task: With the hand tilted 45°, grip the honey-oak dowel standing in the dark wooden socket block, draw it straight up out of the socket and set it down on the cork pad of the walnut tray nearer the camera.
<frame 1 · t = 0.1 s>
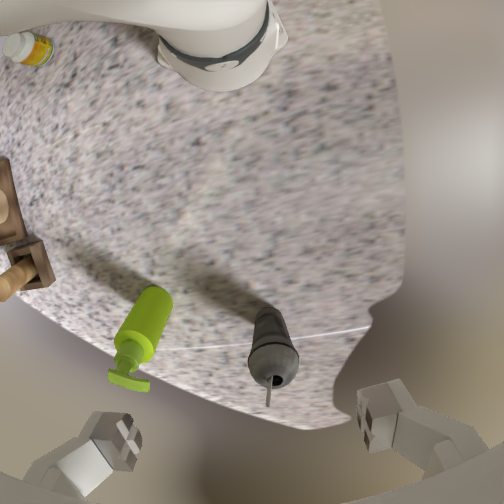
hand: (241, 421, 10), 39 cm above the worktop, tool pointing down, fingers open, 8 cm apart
dowel: (17, 276, 44), in the socket
tray: (0, 204, 45), on the worktop
socket: (34, 263, 50), on the worktop
soap dispenser: (159, 301, 52), on the worktop
supplement bottle: (44, 53, 36), on the worktop
beverage cup: (269, 318, 53), on the worktop
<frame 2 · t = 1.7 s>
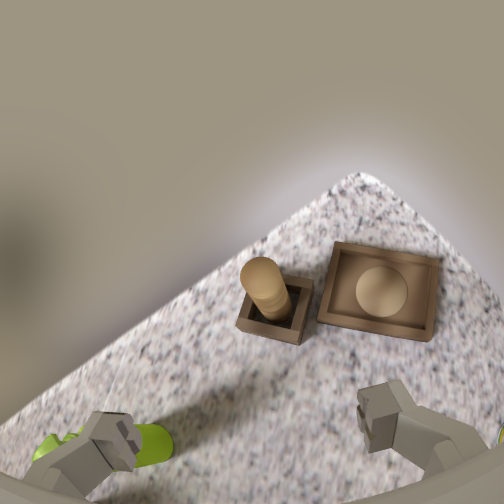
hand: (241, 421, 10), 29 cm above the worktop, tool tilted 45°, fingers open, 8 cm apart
dowel: (270, 295, 37), in the socket
tray: (380, 293, 39), on the worktop
socket: (278, 310, 42), on the worktop
soap dispenser: (153, 445, 36), on the worktop
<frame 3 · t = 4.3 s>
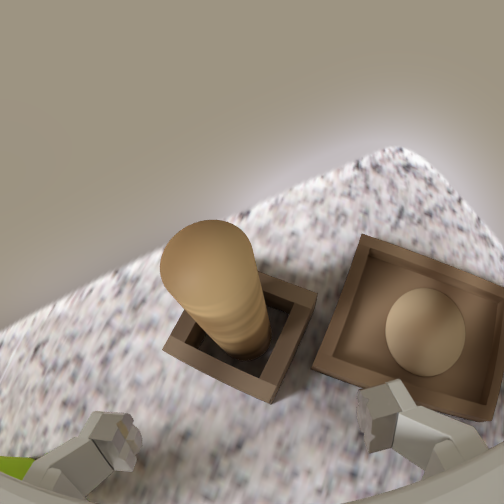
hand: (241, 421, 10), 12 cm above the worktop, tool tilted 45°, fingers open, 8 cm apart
dowel: (231, 308, 18), in the socket
tray: (423, 334, 21), on the worktop
socket: (245, 335, 23), on the worktop
soap dispenser: (33, 486, 17), on the worktop
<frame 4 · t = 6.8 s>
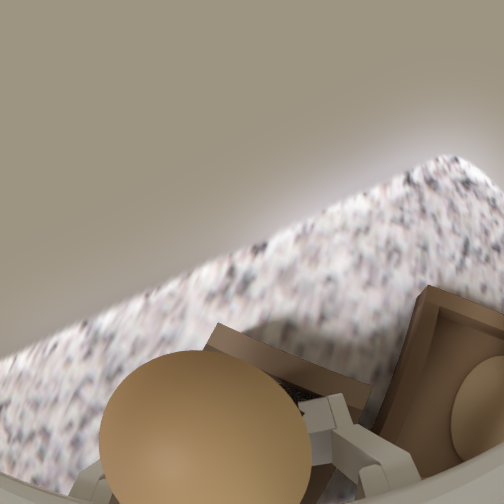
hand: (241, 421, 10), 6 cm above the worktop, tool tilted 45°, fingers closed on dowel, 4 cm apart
dowel: (245, 436, 10), in the socket, touching gripper
tray: (490, 413, 13), on the worktop
socket: (261, 429, 15), on the worktop
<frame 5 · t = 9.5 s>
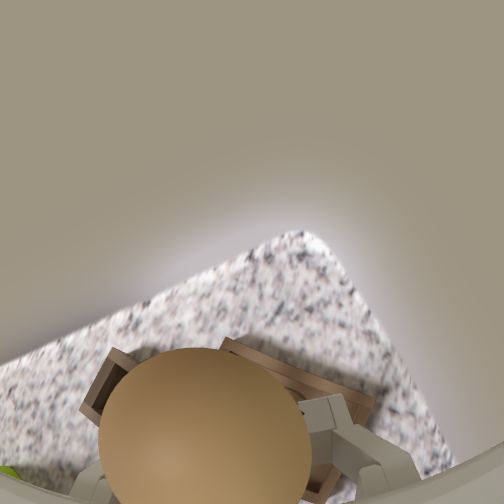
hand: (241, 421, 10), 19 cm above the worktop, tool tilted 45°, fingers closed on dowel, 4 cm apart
dowel: (244, 435, 10), point 19 cm above the worktop, touching gripper
tray: (274, 423, 26), on the worktop
socket: (137, 403, 28), on the worktop
soap dispenser: (11, 486, 22), on the worktop
when the fingers open (8 cm above the worktop, at t = 12.3 s): dowel stays where it is, resting on tray.
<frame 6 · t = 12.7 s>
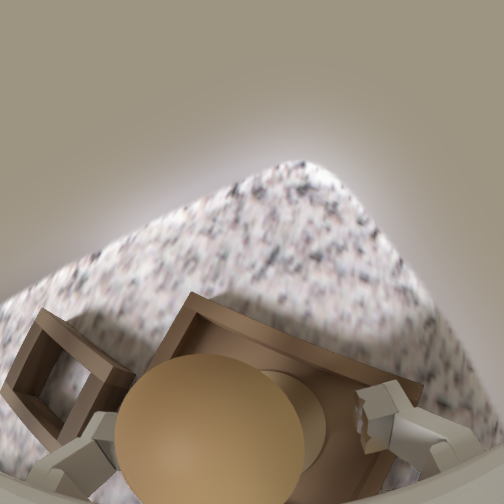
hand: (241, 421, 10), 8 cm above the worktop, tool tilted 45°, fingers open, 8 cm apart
dowel: (246, 434, 10), in the tray, point 7 cm above the worktop
tray: (264, 428, 16), on the worktop
socket: (72, 389, 19), on the worktop
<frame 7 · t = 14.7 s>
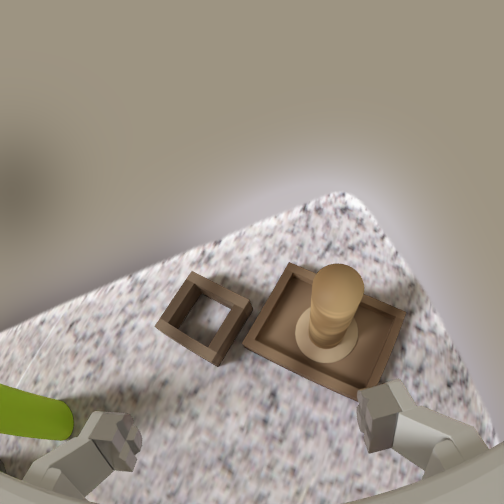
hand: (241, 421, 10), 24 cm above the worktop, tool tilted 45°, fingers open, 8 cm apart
dowel: (331, 313, 28), in the tray, point 7 cm above the worktop
tray: (326, 334, 34), on the worktop
socket: (207, 322, 37), on the worktop
soap dispenser: (57, 421, 32), on the worktop
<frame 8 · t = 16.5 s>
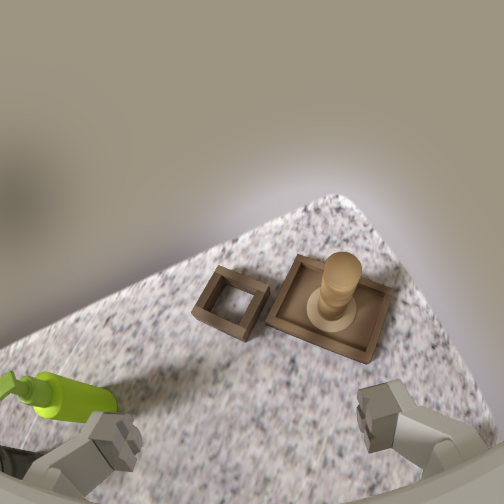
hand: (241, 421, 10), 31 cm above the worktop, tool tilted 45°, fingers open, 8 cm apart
dowel: (336, 290, 37), in the tray, point 7 cm above the worktop
tray: (331, 310, 43), on the worktop
socket: (233, 306, 45), on the worktop
soap dispenser: (100, 408, 39), on the worktop
beverage cup: (38, 464, 34), on the worktop
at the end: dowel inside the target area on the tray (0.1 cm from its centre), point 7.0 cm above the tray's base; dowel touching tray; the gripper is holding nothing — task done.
